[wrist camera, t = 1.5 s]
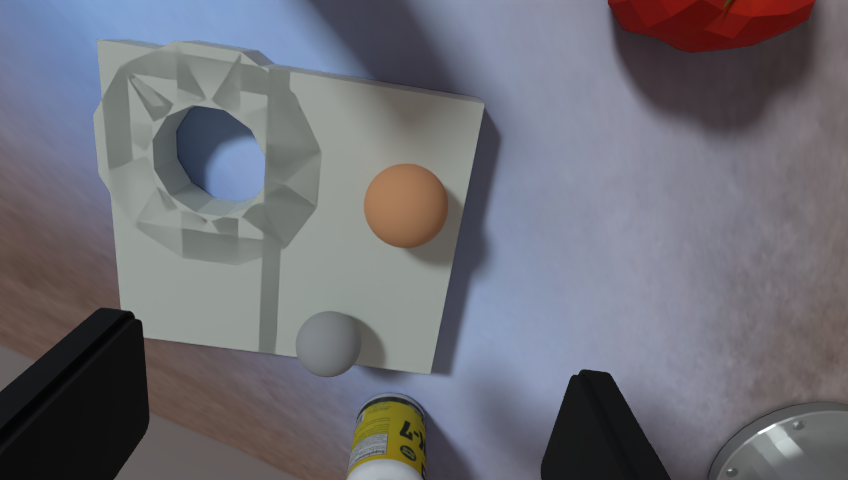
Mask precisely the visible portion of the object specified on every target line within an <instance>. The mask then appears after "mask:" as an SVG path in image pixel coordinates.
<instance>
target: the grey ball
mask: <svg viewBox="0 0 848 480" xmlns="http://www.w3.org/2000/svg"><path fill="white" fill-rule="evenodd" d="M360 350H361V335H360V332H359V329H358V327H357V326H356V324H355V323H354V322H353V321H352V320H351V319H350V318H349V317H348V316H346V315H344V314H342V313H339V312H335V311H324V312H320V313H317V314H315V315H313V316H311V317H310V318H309V319H307V320H306V321H305V322H304V324H303V325H302V326H301V328H300V330H299V332H298V334H297V337H296V354H297V357H298V359H299V361H300V363H301V364H302V365H303V367H304V368H305V369H306V370H308V371H309V372H310V373H312V374H314V375H317V376H321V377H334V376H337V375H340V374H342V373H344V372H346V371H347V370H349V369H350V368H351V367H352V366H353V365H354V363H355V362H356V360H357V358H358V357H359V354H360Z"/></svg>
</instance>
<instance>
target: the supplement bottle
mask: <svg viewBox="0 0 848 480" xmlns="http://www.w3.org/2000/svg"><path fill="white" fill-rule="evenodd" d="M346 480H426V419H425V415H424V412H423V410H422V409H421V407H420V406H419V405H418V404H417V403H416V402H415V401H414V400H412V399H411V398H409V397H407V396H405V395H402V394H397V393H385V394H380V395H377V396H375V397H373V398H371V399H369V400H368V401H367V402H366V403H365V404H364V405H363V406H362V407H361V409H360V411H359V413H358V417H357V422H356V428H355V433H354V439H353V445H352V450H351V456H350V462H349V468H348V473H347V479H346Z"/></svg>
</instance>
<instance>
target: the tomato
mask: <svg viewBox="0 0 848 480" xmlns="http://www.w3.org/2000/svg"><path fill="white" fill-rule="evenodd" d="M814 3H815V0H608V4H609V6H610V8H611V10H612V11H613V13H614V15H615V16H616V18H617V20H618V21H619V23H620V25H621V26H622V28H623V29H624V30H627V31H630V32H635V33H640V34H644V35H648V36H652V37H656V38H659V39H660V40H662V41H664V42H666V43H668V44H670V45H671V46H673V47H675V48H677V49H679V50H683V51H687V52H691V53H693V52H703V51H713V50H723V49H732V48H739V47H746V46H752V45H754V44H757V43H759V42H762V41H764V40H767V39H769V38H772V37H774V36H777V35H779V34H781V33H784V32H786V31H789V30H791V29H792V28H794V27H796V26H798V25H799V24H801V23H803V22H804V21H806V20H808V18H809V15H810V13H811V10H812V8H813V5H814Z"/></svg>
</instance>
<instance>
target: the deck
mask: <svg viewBox="0 0 848 480" xmlns="http://www.w3.org/2000/svg"><path fill="white" fill-rule="evenodd" d="M97 48H98V59H99V70H100V81H101V92H102V100H101V102H100V104H99V106H98V108H97V110H96V111H95V113H94V115H93V120H94V130H95V140H96V151H97V161H98V171H99V176H100V177H101V179H102V180H103V182H104V183H105V185H106V186H107V188H108V189H109V191H110V193H111V203H112V214H113V225H114V236H115V247H116V259H117V270H118V281H119V292H120V303H121V310H126V311H131V312H133V314H134V315H135V319H139V320H141V322H142V325H143V337H145V338H153V339H161V340H169V341H176V342H184V343H192V344H199V345H207V346H215V347H223V348H230V349H238V350H246V351H253V352H261V353H269V354H276V355H284V356H292V357H297V354H296V337H297V334H298V332H299V330H300V328H301V326H302V325H303V324H304V322H305V321H306V320H307V319H309V318H310V317H311V316H313V315H315V314H317V313H320V312H324V311H335V312H339V313H342V314H344V315H346V316H348V317H349V318H350V319H351V320H352V321H353V322H354V323H355V324H356V326H357V327H358V329H359V332H360V335H361V350H360V354H359V357H358V358H357V360H356V362H355V363H354V365H361V366H369V367H377V368H384V369H392V370H400V371H407V372H415V373H423V374H430V373H431V368H432V363H433V358H434V353H435V348H436V343H437V338H438V333H439V328H440V324H441V319H442V314H443V309H444V304H445V299H446V294H447V289H448V284H449V279H450V274H451V269H452V264H453V259H454V254H455V249H456V244H457V239H458V235H459V230H460V225H461V220H462V215H463V210H464V205H465V200H466V195H467V190H468V185H469V180H470V175H471V170H472V165H473V160H474V155H475V150H476V145H477V141H478V136H479V131H480V126H481V121H482V116H483V111H484V106H485V103H484V102H483V101H482V100H481V99H480V98H477V97H471V96H465V95H459V94H453V93H447V92H441V91H435V90H429V89H423V88H417V87H411V86H405V85H399V84H393V83H387V82H381V81H375V80H369V79H363V78H357V77H351V76H345V75H339V74H333V73H327V72H321V71H315V70H309V69H303V68H297V67H291V66H285V65H279V64H274V63H273V62H272V61H271V60H269V59H268V58H267V57H266V56H264V55H263V54H262V53H261V52H259V51H258V50H252V49H246V48H240V47H234V46H228V45H222V44H216V43H210V42H204V41H174V42H172V43H170V44H167V45H159V44H153V43H147V42H141V41H135V40H129V39H97ZM196 106H203V107H209V108H215V109H221V110H225V111H227V112H228V113H229V114H231V115H232V116H233V117H235V118H236V119H237V120H239V121H240V122H241V123H243V124H244V125H246V126H247V127H248V128H250V129H251V130H252V132H253V134H254V136H255V138H256V140H257V142H258V144H259V146H260V148H261V150H262V152H263V154H264V156H265V183H264V187H263V188H262V190H261V191H260V193H259V194H258V195H257V196H255V197H252V198H249V199H247V200H244V201H242V202H238V201H232V200H225V199H218V198H214V197H212V196H211V195H209V194H208V193H207V192H205V191H204V190H202V189H201V188H199V187H198V186H196V185H195V184H193V183H192V182H191V181H190V179H189V177H188V175H187V174H186V172H185V170H184V169H183V167H182V165H181V163H180V162H179V160H178V158H177V139H176V131H177V129H178V127H179V126H180V124H181V122H182V121H183V119H184V118H185V116H186V114H187V113H188V111H189V109H191V108H194V107H196ZM397 164H415V165H419V166H421V167H424V168H426V169H428V170H429V171H431V172H432V173H433V174H434V175H435V176H437V178H438V179H439V180H440V181H441V183H442V184H443V186H444V188H445V191H446V194H447V197H448V215H447V219H446V221H445V224H444V226H443V227H442V229H441V231H440V232H439V233H438V234H437V235H436V236H435V237H434V238H433V239H432V240H430V241H429V242H427V243H426V244H424V245H421V246H418V247H414V248H398V247H394V246H391V245H389V244H387V243H385V242H383V241H382V240H381V239H379V238H378V237H377V236H376V235H375V234H374V233H373V231H372V230H371V229H370V227H369V225H368V223H367V220H366V217H365V213H364V199H365V194H366V191H367V189H368V187H369V185H370V183H371V182H372V180H373V179H374V178H375V177H376V176H377V175H378V174H379V173H380V172H381V171H383V170H384V169H386V168H388V167H391V166H394V165H397Z"/></svg>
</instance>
